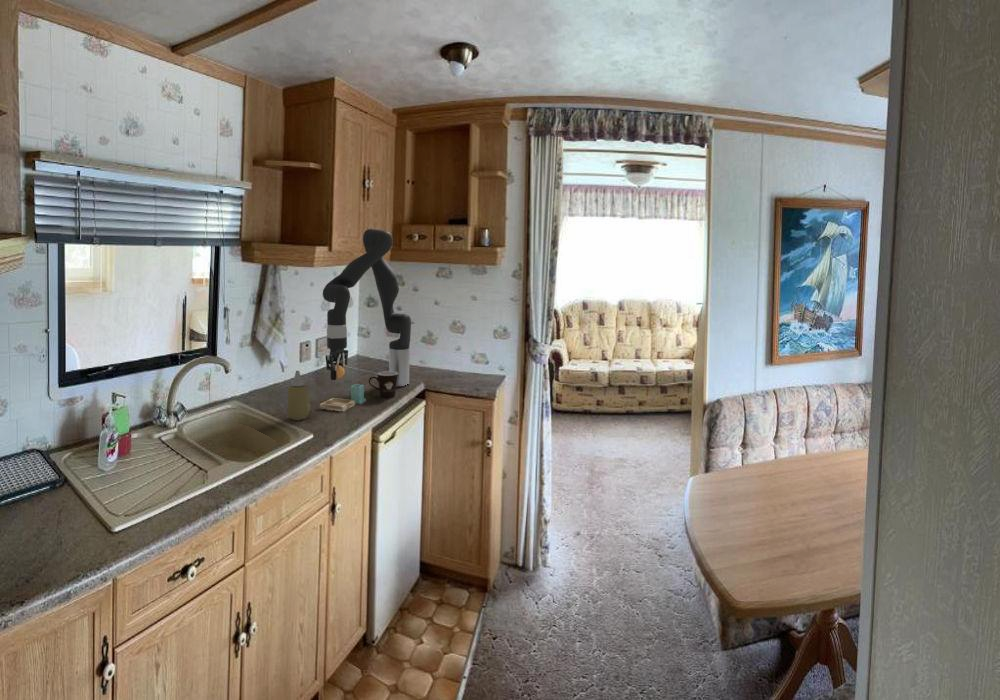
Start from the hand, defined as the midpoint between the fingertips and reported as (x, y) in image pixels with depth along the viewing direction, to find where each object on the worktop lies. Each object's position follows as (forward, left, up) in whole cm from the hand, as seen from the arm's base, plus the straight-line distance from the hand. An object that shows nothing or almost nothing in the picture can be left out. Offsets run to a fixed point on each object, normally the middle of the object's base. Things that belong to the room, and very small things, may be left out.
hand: (337, 378), depth 225 cm
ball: (0, 0, +2) cm, 2 cm away
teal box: (-9, +4, -12) cm, 16 cm away
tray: (0, 0, -12) cm, 12 cm away
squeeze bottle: (+18, -6, -12) cm, 22 cm away
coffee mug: (-22, +10, -12) cm, 27 cm away
